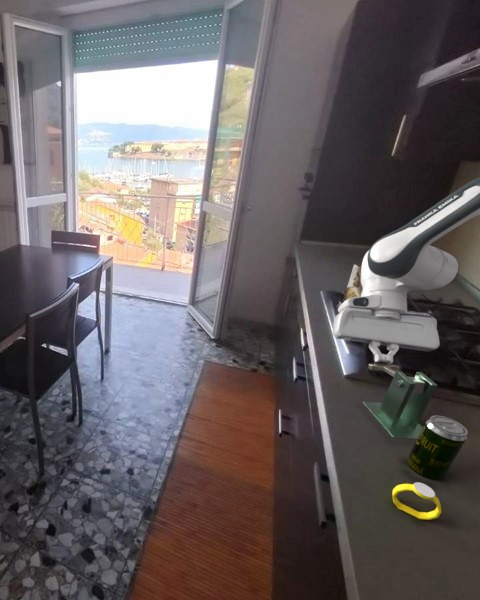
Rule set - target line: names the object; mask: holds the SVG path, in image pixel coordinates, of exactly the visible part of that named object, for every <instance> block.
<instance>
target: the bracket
mask: <svg viewBox="0 0 480 600" xmlns="http://www.w3.org/2000/svg"><path fill="white" fill-rule="evenodd" d="M392 377H393V376H392ZM408 377H409V376H407V375H406V374H405V373H404V372H403V371H402V370H399V371H396V373H395V375H394V377H393V378H392V380H391V382H390V385H389V387H388V389H387V391H386V393H385V396H384V398H383V400H382V402H373V401H362V403H363V405H364V406H365V407H366V408H367V409H368V410H369V412H370V413H371V414H372V415H373V416H374V418H375V419H376V420H377V421H378V422H379V424H380V425H381V426H382V427H383V428H384V429H385V430H386V432H387V433H388V434H389V435H390V436H391V437H392V439H402V440H403V439H404V440H417V439H418V437H419V435H420V433H421V431H422V429H423V427H424V426H423V425H421V424H420V423H419V422H420V421H421V418H422V417H423V414H425V411H426V409H427V407H428V405H429V403H430V402H431V399H432V397H433V395H434V393H435V391H436V389H437V387H438V384H437V383H435V382H434V381H433V380H432V379H431V378H430V377H429V376H427V375H426V374H425V373H423V372H422V371H416V373H415V375H414V377H416V378H418V379H419V380H421V381H423V382H425V386H424V390H423V393H414V392H412V391H413V389H414V387H415V385H416V384H415V383H414V382H413V381H412V380H411V379H410V378H408Z"/></svg>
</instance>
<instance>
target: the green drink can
mask: <svg viewBox="0 0 480 600" xmlns="http://www.w3.org/2000/svg"><path fill="white" fill-rule="evenodd" d="M422 427H423V429H422V431H421V433H420V435H419V437H418V439H417V440H416V439H415V440H416V441H415V442H414V444H413V446H412V449H411V450H410V452H409V454H408V456H407V458H406V465H407V466H408V467H409V469H410V470H411V471H413V472H414V473H415V474H417V475H418V476H420V477H422V478H424V479H426V480H427V479H428V480H430V481H437V482H438V481H442V480H443V479H444V478H445V476H446V474H447V473H448V472H449V469H450V468H451V467H452V465H453V463H454V461H455V459H456V457H457V456H458V454H459V453H460V452H461V449H462V447H463V446H464V444H465V443H466V441H467V439H468V433H469V432H468V429H467V428H466V426H464V425H463V424H462V423H460V422H459V421H456V420H454V419H453V418H450V417H447V416H443V415H436V414H435V415H431V416H430V417H429V418H428V419H427V420H426V421H425V423H424V425H423V426H422Z"/></svg>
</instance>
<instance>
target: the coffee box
mask: <svg viewBox="0 0 480 600" xmlns="http://www.w3.org/2000/svg"><path fill="white" fill-rule="evenodd" d="M361 266H362V263H354V264H353V266H352V270H351V274H350V277H349V280H348V283H347V286H346V290H345V292H344V296H343V300H342V302H343V301H346V300H347V299H349V298H355V297H361V293H362V290H363V287H362V284H361Z"/></svg>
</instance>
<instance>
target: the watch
mask: <svg viewBox="0 0 480 600" xmlns="http://www.w3.org/2000/svg"><path fill="white" fill-rule="evenodd" d="M407 491H409V492H413V493H415V494H416V495H417V496H419V497H420V498H421V499H424V500H428V501H432V502H433V503H434V505H436V508H435V509H434V510H432V511H428V512H425V511H418V510H416V509H414V508H412V507H410V506H407V505H406V504H404V503H401V502H400V500H399V499H398V498H397V495H398V494H400V493H401V492H407ZM392 501H393V502H392V503H393V504H394V505H395V507H396V508H397V509H398V510H401V511H403V512H404V513H406V514H409V515H411V516H412V517H415V518H417V519H418V520H425V521H431V520H435V519H438V518H439V517H440V515H441V514H442V505H441V502H440V499H439V497H437V496H436V493H435V491H434V490H433V488H431V487H430V486H428V484H425V483H422V482H418V481H417V482H414V483H401V484H398V485H396V486H394V488H393V489H392Z"/></svg>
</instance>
